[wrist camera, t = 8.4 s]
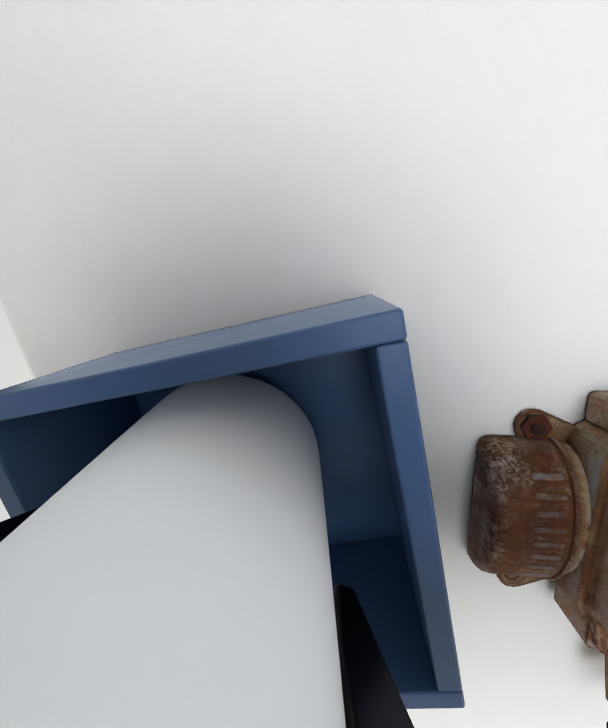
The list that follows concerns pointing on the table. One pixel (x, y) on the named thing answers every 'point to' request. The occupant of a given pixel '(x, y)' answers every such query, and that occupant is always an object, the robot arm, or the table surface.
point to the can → (179, 577)
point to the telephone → (548, 512)
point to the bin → (335, 444)
